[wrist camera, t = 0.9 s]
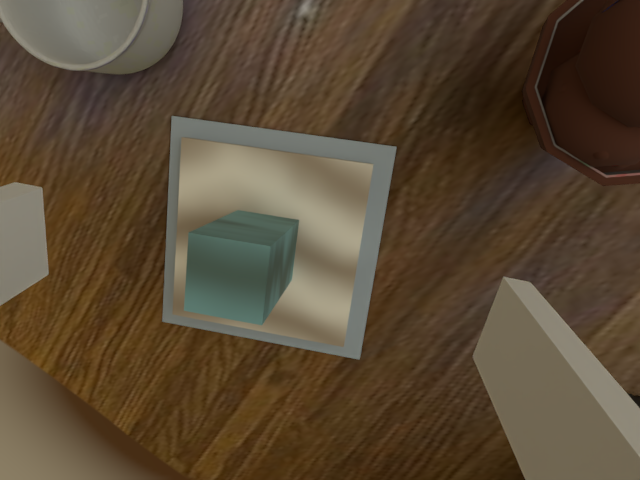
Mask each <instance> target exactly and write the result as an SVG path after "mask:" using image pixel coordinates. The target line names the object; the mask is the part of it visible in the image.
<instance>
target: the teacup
mask: <svg viewBox="0 0 640 480" xmlns="http://www.w3.org/2000/svg"><path fill="white" fill-rule="evenodd" d="M182 15H183V0H0V22H3V23H4V25H5V27H6V28H7V30H8V31H9V33H10V34H11V35H12V36H13V38H14V39H15V40H16V41H17V42H18V43H19V44H20V45H21V46H22V47H23V48H24V49H25V50H27V51H28V52H29V53H30V54H32V55H33V56H35V57H36V58H38V59H39V60H41V61H43V62H45V63H47V64H49V65H52V66H54V67H57V68H62V69H66V70H73V71H90V72H96V73H106V74H130V73H135V72H139V71H142V70H144V69H146V68H149V67H151V66H152V65H154V64H155V63H157V62H158V61H159V60H160V59H161V58H163V57H164V56H165V55H166V54H167V52H168V51H169V50H170V48H171V47H172V45H173V44H174V42H175V40H176V38H177V35H178V33H179V30H180V27H181V22H182Z"/></svg>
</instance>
